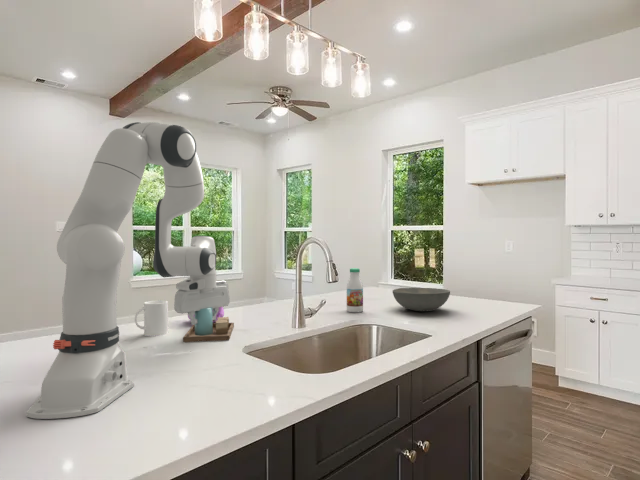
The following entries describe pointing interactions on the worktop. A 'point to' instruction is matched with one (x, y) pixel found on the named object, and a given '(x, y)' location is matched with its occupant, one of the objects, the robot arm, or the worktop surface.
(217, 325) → the oak block
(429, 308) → the bowl
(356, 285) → the milk bottle
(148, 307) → the mug
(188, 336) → the walnut tray
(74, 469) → the worktop surface
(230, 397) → the worktop surface
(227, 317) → the oak block
